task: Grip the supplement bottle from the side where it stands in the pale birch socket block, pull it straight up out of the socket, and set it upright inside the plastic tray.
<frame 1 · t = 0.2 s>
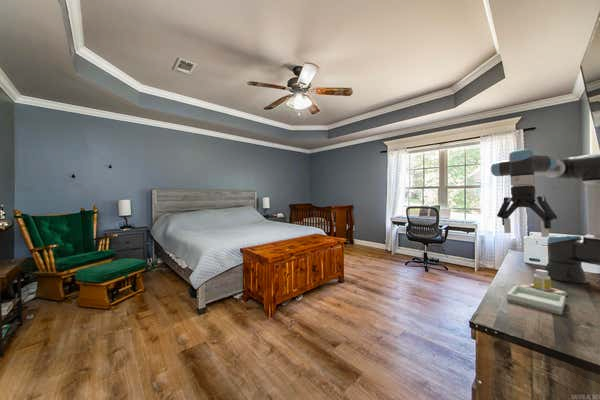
hand: (525, 234, 97), 27 cm above the dresser top, tool pointing down, fingers open, 13 cm apart
supplement bottle: (542, 292, 103), resting in socket block
tray: (535, 302, 93), on the dresser top
socket block: (542, 291, 103), on the dresser top
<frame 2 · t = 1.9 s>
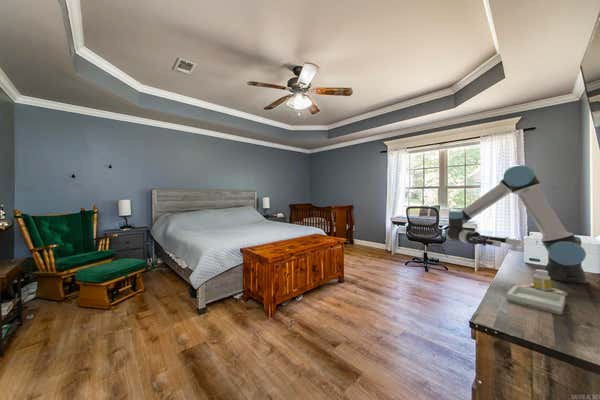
hand: (510, 243, 115), 20 cm above the dresser top, tool horizontal, fingers open, 13 cm apart
nothing on the dresser top moved.
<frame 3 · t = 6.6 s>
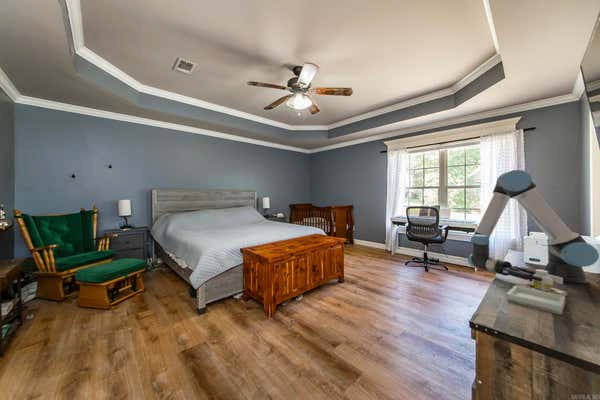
hand: (557, 281, 98), 7 cm above the dresser top, tool horizontal, fingers closed on supplement bottle, 5 cm apart
supplement bottle: (542, 292, 103), resting in socket block, touching gripper
when the fingers open (9 cm above the dresser top, at t = 11.9 s): supplement bottle drops 1 cm, resting on tray.
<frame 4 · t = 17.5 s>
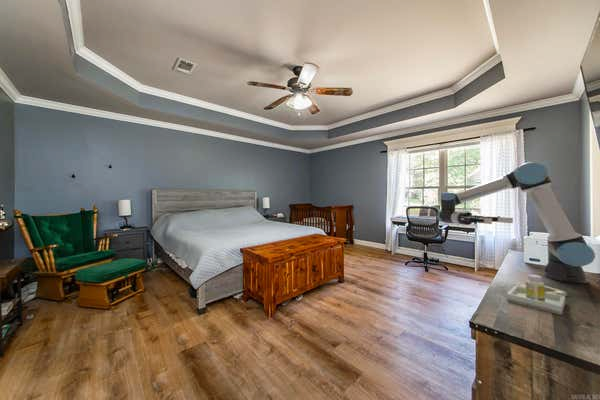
hand: (502, 220, 112), 32 cm above the dresser top, tool horizontal, fingers open, 13 cm apart
supplement bottle: (535, 300, 93), point 1 cm above the dresser top, touching tray
at the end: supplement bottle inside the target area on the tray (0.1 cm from its centre), point 0.8 cm above the tray's base; supplement bottle tilted 0°; the gripper is holding nothing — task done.
